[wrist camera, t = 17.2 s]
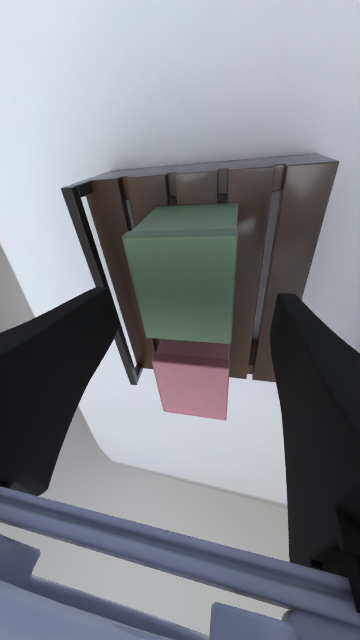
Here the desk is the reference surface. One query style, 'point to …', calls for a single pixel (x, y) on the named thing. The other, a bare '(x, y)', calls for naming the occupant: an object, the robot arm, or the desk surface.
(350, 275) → the desk surface
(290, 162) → the rack
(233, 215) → the sage box
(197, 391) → the rose box
